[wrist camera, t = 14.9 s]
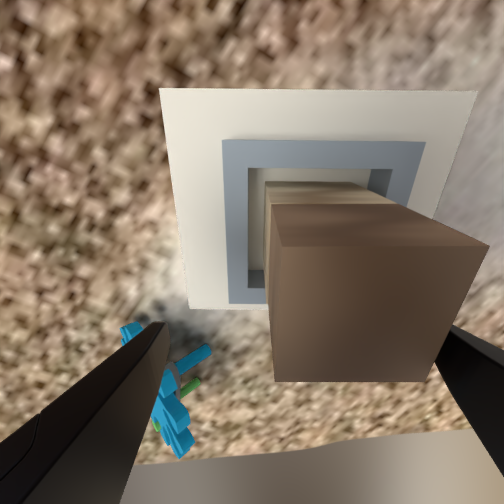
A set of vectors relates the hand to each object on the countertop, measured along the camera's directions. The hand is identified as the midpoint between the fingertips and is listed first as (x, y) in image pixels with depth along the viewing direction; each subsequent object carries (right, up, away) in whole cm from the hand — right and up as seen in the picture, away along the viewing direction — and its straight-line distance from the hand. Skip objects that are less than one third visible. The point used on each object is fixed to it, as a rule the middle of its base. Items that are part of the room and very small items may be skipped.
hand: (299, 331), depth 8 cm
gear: (-9, -6, +13) cm, 17 cm away
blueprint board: (+2, +5, +8) cm, 9 cm away
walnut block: (+2, +2, +2) cm, 4 cm away
